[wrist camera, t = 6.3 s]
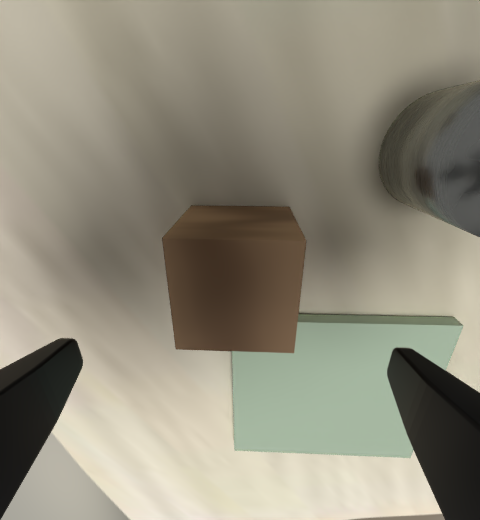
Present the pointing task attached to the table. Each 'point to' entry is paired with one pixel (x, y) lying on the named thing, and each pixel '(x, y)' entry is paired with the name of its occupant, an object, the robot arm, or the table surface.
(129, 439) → the table surface
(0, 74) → the table surface
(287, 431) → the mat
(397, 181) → the metal cylinder
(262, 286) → the walnut block
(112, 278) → the table surface
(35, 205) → the table surface
